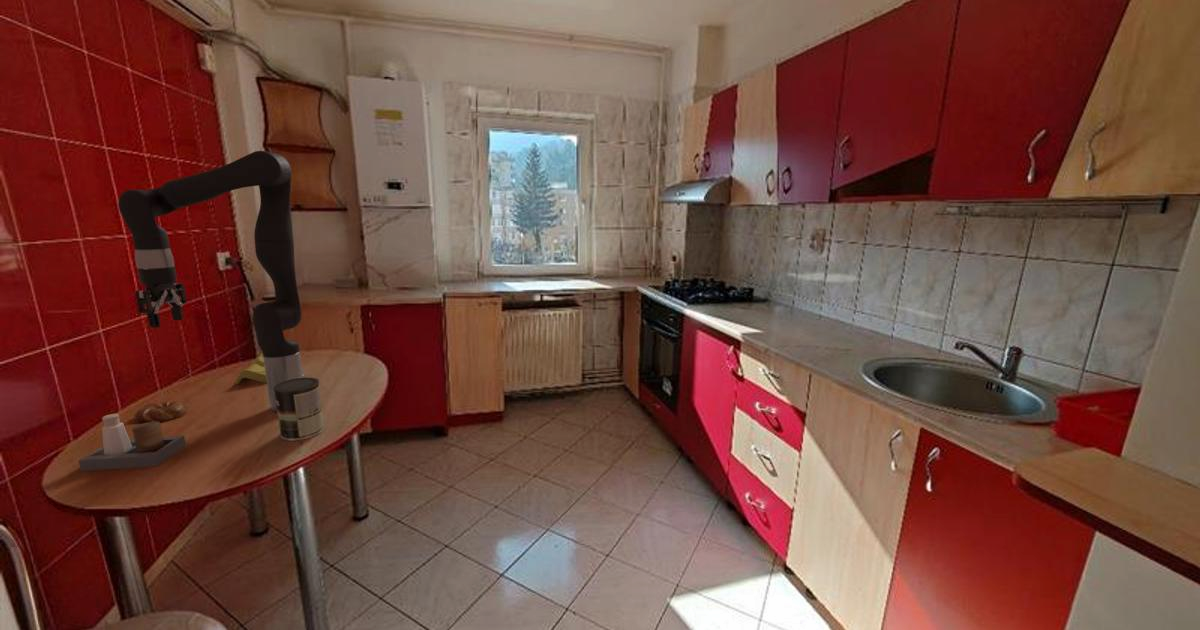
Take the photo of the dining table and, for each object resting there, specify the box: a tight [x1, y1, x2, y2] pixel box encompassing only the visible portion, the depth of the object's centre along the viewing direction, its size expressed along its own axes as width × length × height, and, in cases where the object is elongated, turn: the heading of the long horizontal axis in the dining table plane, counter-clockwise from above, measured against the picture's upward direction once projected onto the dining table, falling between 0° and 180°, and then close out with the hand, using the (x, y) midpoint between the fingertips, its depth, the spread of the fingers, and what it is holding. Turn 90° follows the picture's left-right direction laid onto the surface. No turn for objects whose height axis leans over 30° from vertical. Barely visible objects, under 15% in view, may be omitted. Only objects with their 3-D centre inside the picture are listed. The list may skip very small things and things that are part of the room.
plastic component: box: [233, 350, 267, 386], centre depth 170 cm, size 20×7×10 cm
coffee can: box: [273, 377, 325, 442], centre depth 126 cm, size 10×10×14 cm
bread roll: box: [133, 401, 187, 424], centre depth 136 cm, size 12×11×4 cm
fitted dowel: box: [131, 422, 165, 453], centre depth 111 cm, size 5×5×8 cm
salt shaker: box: [101, 413, 132, 455], centre depth 110 cm, size 5×5×11 cm
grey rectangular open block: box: [78, 435, 187, 472], centre depth 112 cm, size 15×10×4 cm, turn 99°
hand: (167, 323), depth 130 cm, fingers open, 8 cm apart
